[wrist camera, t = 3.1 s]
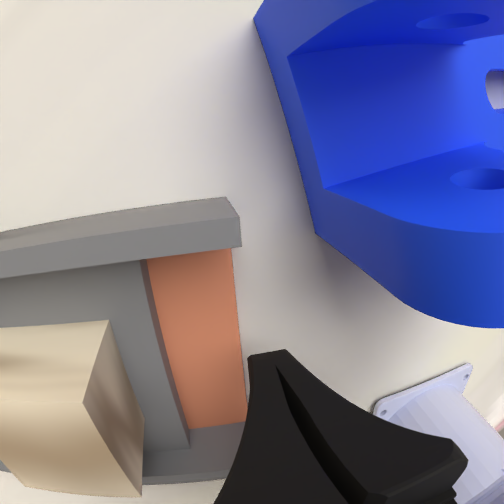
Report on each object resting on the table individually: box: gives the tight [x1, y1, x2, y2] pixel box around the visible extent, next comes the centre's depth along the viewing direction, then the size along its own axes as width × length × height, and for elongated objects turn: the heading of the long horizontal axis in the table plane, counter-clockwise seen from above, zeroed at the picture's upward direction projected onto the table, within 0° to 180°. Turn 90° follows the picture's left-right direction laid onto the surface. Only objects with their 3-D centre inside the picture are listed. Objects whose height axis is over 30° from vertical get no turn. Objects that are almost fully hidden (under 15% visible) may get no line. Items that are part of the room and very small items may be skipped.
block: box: [0, 320, 145, 497], centre depth 9 cm, size 5×5×4 cm
